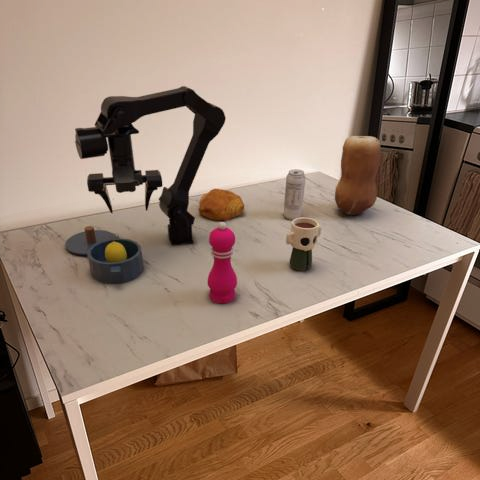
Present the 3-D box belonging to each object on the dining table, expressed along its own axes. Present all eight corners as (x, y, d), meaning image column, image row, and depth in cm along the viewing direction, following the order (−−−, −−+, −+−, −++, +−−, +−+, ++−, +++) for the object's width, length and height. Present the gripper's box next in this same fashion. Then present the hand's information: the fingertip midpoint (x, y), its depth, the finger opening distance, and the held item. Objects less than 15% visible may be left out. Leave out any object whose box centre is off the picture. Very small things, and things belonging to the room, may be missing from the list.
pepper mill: (207, 288, 116) (205, 215, 104) (235, 288, 117) (237, 215, 105) (208, 305, 111) (206, 230, 98) (237, 304, 111) (239, 229, 99)
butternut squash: (346, 201, 162) (359, 127, 147) (380, 213, 155) (397, 136, 140) (323, 212, 154) (334, 136, 139) (357, 225, 147) (373, 146, 132)
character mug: (291, 277, 122) (295, 232, 114) (276, 265, 126) (280, 221, 119) (324, 267, 126) (330, 224, 118) (309, 256, 131) (314, 213, 123)
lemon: (123, 275, 120) (119, 248, 115) (103, 272, 121) (98, 245, 116) (131, 264, 124) (128, 238, 119) (112, 262, 125) (108, 235, 120)
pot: (141, 250, 131) (138, 232, 128) (145, 286, 117) (143, 266, 113) (92, 255, 129) (88, 236, 125) (90, 292, 114) (86, 272, 111)
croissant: (215, 205, 162) (213, 183, 158) (251, 211, 154) (250, 187, 150) (188, 218, 153) (185, 194, 149) (225, 225, 144) (223, 200, 140)
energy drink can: (304, 215, 152) (309, 171, 143) (296, 222, 148) (300, 176, 139) (288, 211, 155) (292, 167, 146) (279, 217, 151) (283, 172, 142)
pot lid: (117, 231, 141) (114, 215, 138) (118, 254, 130) (115, 237, 126) (67, 235, 138) (63, 219, 135) (64, 259, 127) (60, 242, 123)
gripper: (81, 165, 107) (93, 227, 116) (161, 161, 110) (166, 221, 120) (83, 151, 115) (94, 209, 125) (157, 147, 119) (162, 204, 128)
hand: (129, 211), depth 124 cm, fingers open, 9 cm apart
